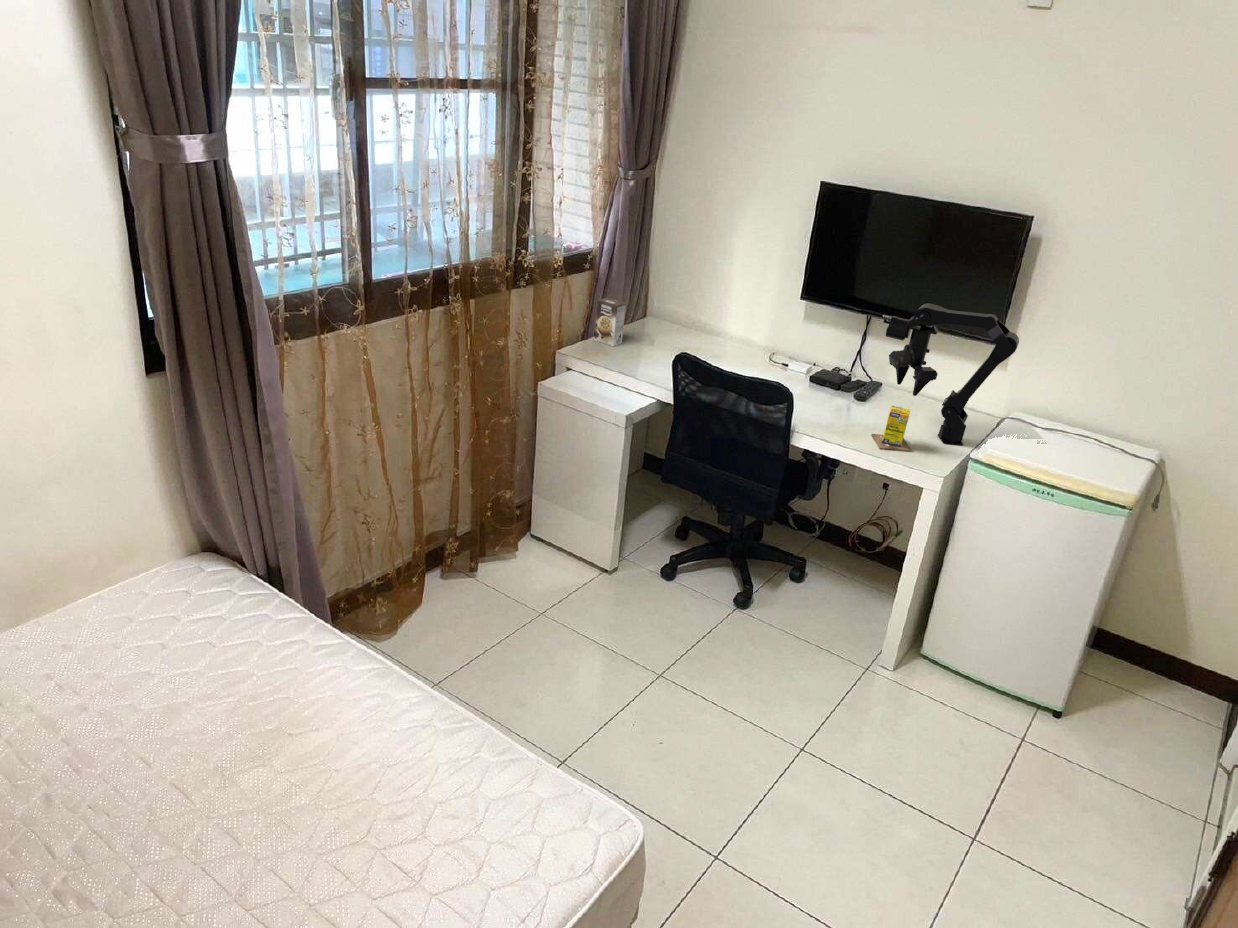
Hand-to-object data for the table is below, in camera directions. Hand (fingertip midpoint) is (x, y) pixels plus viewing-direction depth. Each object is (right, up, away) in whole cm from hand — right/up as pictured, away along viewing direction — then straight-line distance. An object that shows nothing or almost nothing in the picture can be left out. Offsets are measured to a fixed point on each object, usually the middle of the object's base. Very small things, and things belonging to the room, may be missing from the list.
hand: (906, 389), depth 286 cm
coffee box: (-97, +23, +53) cm, 113 cm away
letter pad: (-7, -17, -7) cm, 20 cm away
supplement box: (-7, -17, -7) cm, 20 cm away
